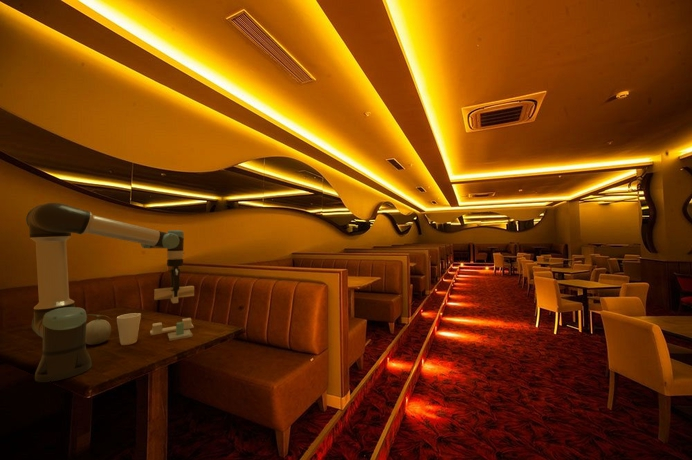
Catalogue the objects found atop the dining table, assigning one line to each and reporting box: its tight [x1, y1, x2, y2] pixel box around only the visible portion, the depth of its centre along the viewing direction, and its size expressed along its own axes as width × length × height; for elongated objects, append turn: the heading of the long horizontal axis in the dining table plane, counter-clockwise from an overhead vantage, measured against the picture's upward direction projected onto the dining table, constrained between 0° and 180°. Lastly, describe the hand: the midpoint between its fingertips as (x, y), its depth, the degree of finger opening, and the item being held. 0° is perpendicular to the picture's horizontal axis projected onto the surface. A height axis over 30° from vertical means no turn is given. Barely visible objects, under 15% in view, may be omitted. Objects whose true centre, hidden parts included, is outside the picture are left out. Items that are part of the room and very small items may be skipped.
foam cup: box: [116, 312, 142, 346], centre depth 138 cm, size 10×9×13 cm
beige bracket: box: [149, 317, 195, 336], centre depth 156 cm, size 6×20×4 cm, turn 127°
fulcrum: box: [167, 321, 193, 342], centre depth 146 cm, size 10×10×7 cm
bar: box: [153, 285, 195, 301], centre depth 153 cm, size 5×18×5 cm, turn 129°
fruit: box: [86, 313, 112, 346], centre depth 137 cm, size 10×12×15 cm
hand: (174, 301), depth 152 cm, fingers closed on bar, 5 cm apart
